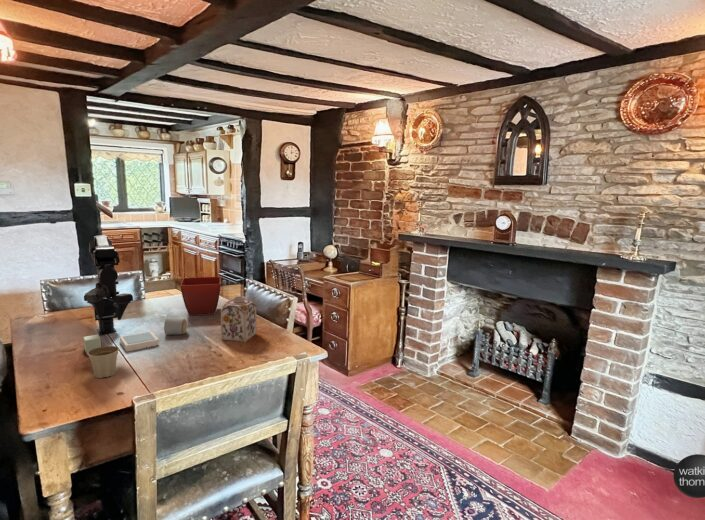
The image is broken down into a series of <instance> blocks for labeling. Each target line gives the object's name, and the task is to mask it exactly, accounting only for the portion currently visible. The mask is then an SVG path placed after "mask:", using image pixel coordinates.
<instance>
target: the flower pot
mask: <svg viewBox="0 0 705 520" xmlns="http://www.w3.org/2000/svg"><path fill="white" fill-rule="evenodd" d="M119 351H120V347H119V346H116V345H105V346H101V347H98V348H94V349H92V350H90V351H88V352H87V353H86V354H87V356H88V358H89V359H90V363H91V366H92V371H93V375H94V378H97V379H102V378H110V377H112V376H114V375H115V374H116V370H117V369H116V367H117V357H118V354H119ZM109 376H110V377H109Z"/></svg>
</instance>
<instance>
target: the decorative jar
mask: <svg viewBox="0 0 705 520" xmlns="http://www.w3.org/2000/svg"><path fill="white" fill-rule="evenodd" d="M257 324H258V323H257V305H256V304H255V302H253V301H252V300H250V299H246V298H245V297H244V296H239V295H238V296H234V297H232V299H230V300H227V301H225V302H224V304H223V306H222V307H221V308H220V337H221V338H220V339H221V340H224V341H233V342H240V343H247V342H248V341H249V340H250V339H252V338H253V337H254V336H255V335H257V332H258V331H257V328H258V325H257Z"/></svg>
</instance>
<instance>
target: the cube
mask: <svg viewBox="0 0 705 520" xmlns="http://www.w3.org/2000/svg"><path fill="white" fill-rule="evenodd" d="M99 335H100V334H93V335H88V336H83V347H84V351H85V354H87V352H88V351H90V350H92V349H94V348H98V347H102V345H101V341H102V340H101V337H100V336H99Z"/></svg>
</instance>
